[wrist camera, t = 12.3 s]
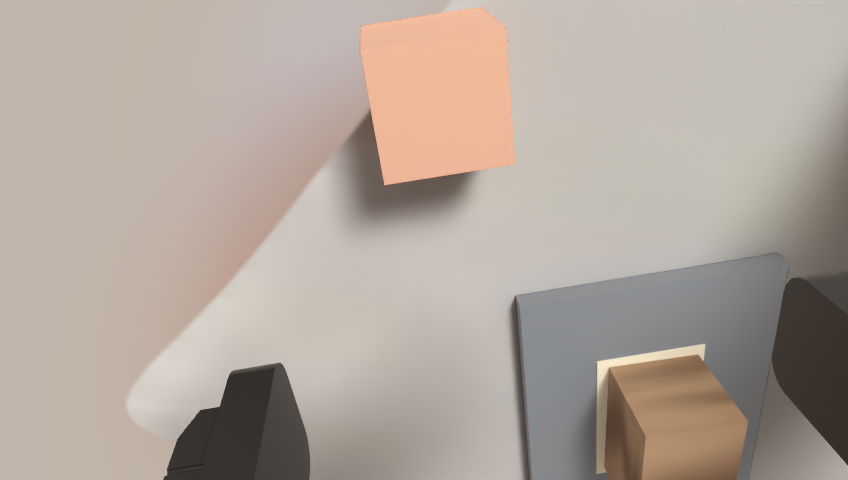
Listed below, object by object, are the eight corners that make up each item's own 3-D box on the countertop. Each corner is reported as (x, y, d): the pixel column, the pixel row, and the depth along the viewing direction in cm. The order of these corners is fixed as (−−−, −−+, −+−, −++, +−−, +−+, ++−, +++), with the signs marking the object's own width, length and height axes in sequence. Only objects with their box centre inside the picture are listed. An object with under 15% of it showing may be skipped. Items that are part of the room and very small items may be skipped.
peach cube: (360, 25, 25) (359, 50, 20) (481, 6, 25) (505, 27, 20) (381, 140, 27) (384, 185, 23) (491, 123, 27) (515, 164, 23)
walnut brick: (609, 367, 33) (645, 436, 29) (698, 354, 33) (748, 421, 29) (604, 466, 37) (636, 541, 33) (684, 454, 37) (726, 527, 33)
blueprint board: (515, 295, 32) (520, 307, 31) (777, 253, 32) (790, 263, 31) (532, 515, 41) (536, 530, 40) (737, 481, 41) (746, 495, 40)
